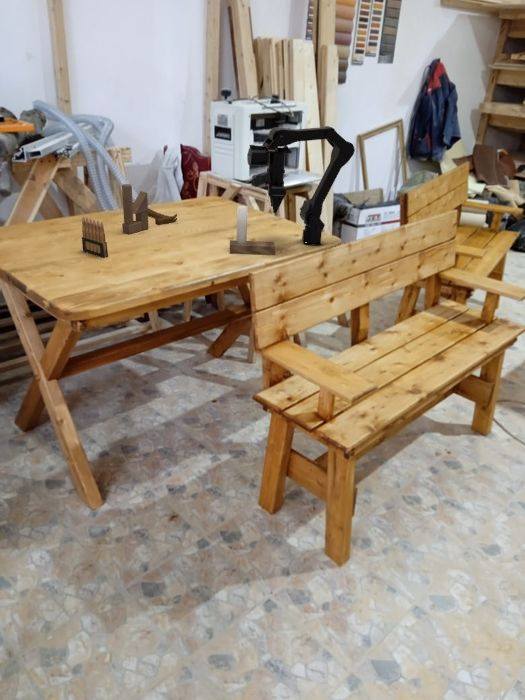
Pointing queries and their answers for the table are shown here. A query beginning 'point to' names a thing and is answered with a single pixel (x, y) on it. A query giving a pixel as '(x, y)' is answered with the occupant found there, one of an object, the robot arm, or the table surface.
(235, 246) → the beam
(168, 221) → the hammer
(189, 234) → the table surface
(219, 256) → the table surface
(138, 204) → the brown wooden bracket
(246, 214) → the dowel
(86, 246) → the ammunition clip
